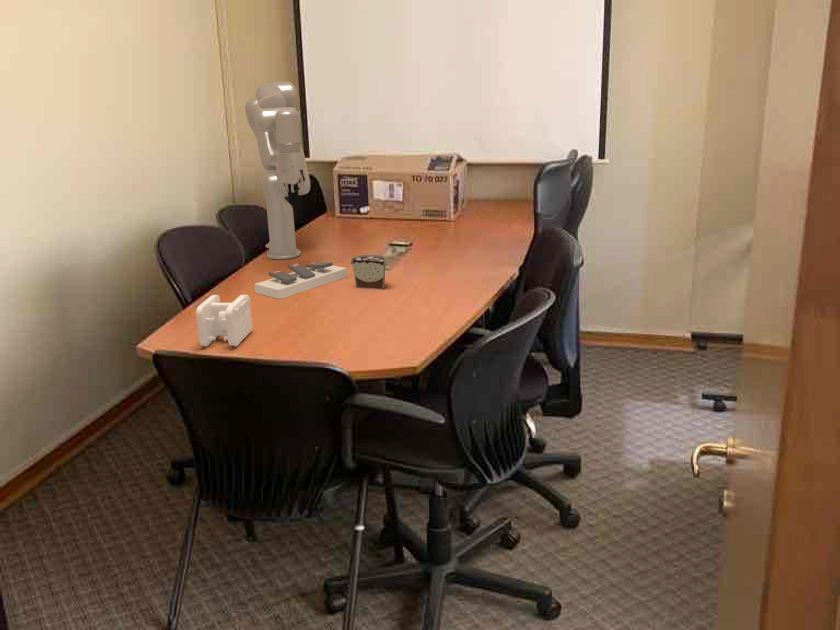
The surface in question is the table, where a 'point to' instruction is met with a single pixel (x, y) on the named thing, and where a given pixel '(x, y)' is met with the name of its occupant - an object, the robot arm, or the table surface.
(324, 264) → the rocker
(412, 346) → the table surface
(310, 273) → the rocker
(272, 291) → the rocker switch panel
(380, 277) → the food container
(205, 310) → the cable organizer
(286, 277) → the rocker
